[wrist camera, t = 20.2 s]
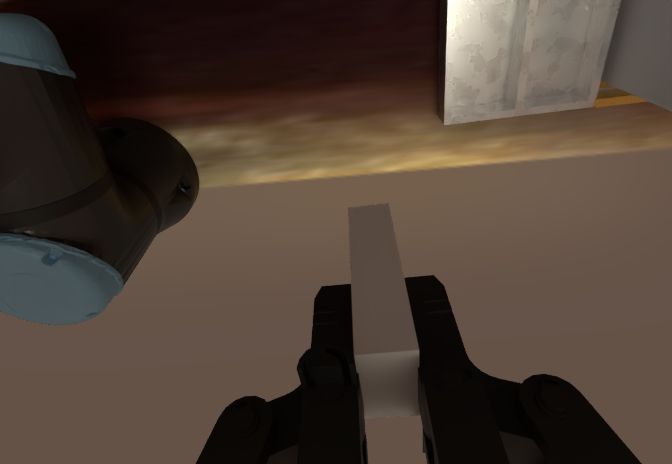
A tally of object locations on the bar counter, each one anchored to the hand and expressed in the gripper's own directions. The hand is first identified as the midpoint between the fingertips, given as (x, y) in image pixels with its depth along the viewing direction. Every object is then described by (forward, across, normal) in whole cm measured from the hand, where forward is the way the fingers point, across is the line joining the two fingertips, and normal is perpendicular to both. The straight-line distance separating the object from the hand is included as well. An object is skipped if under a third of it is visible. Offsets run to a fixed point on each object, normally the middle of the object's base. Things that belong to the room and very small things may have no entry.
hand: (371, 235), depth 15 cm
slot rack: (+34, +22, +2) cm, 41 cm away
